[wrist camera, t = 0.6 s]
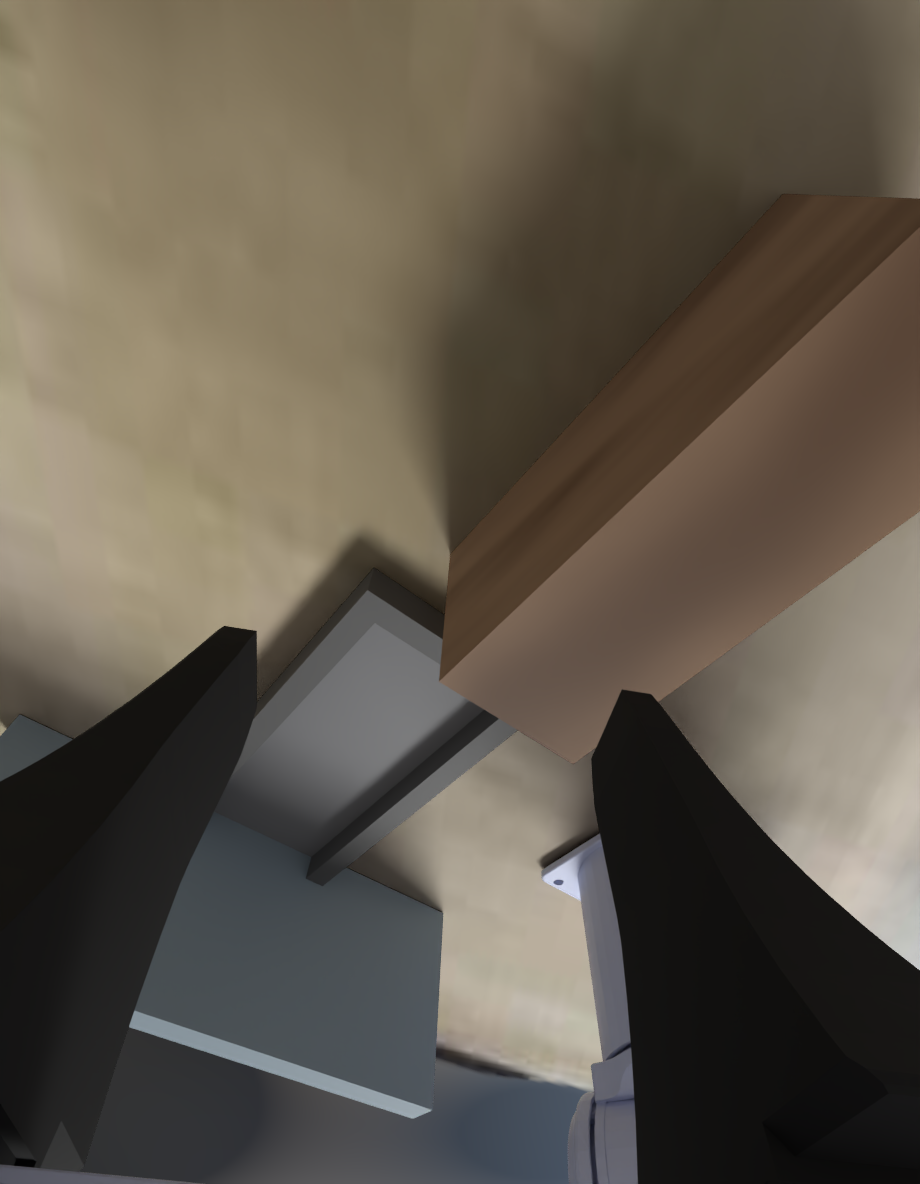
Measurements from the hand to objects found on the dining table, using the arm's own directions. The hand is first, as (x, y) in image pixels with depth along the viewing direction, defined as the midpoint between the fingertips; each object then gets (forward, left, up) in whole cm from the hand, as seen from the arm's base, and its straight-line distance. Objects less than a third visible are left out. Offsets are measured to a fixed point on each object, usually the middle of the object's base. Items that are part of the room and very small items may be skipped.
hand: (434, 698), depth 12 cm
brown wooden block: (-4, -5, -10) cm, 12 cm away
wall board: (-4, +13, -10) cm, 17 cm away
